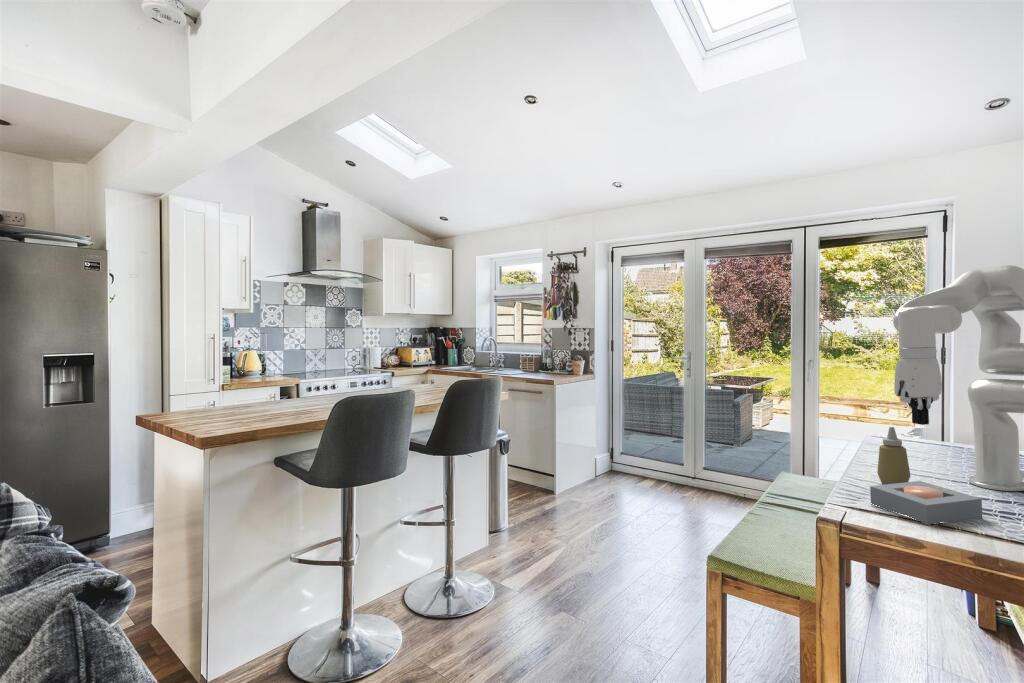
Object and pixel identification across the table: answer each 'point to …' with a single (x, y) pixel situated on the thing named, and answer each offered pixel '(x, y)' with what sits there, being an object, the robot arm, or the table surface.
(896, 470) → the squeeze bottle
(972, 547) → the table surface
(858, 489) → the table surface
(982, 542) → the table surface
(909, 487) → the button
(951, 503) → the button base
